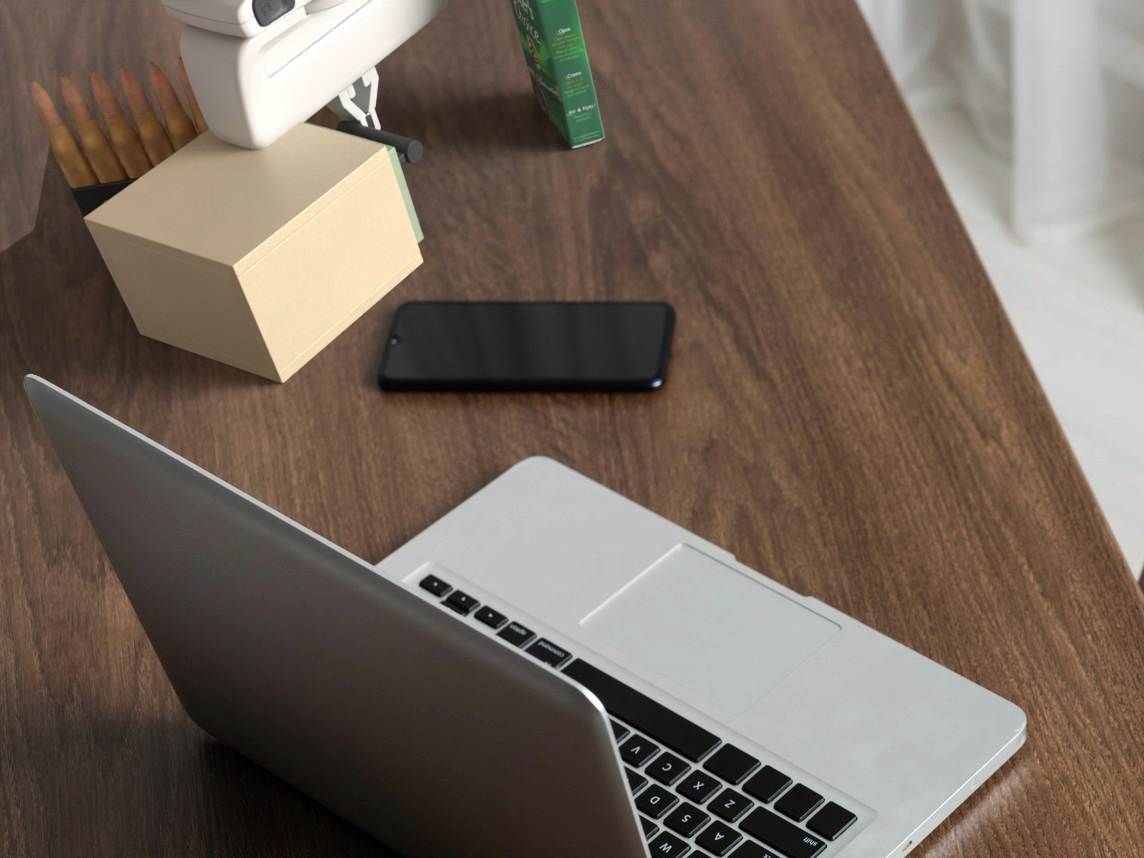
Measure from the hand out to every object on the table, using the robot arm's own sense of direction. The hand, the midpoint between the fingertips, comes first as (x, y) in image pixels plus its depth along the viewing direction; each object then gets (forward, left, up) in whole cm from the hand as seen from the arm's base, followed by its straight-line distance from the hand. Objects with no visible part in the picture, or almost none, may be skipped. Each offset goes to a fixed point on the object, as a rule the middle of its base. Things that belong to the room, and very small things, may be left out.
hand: (364, 135), depth 116 cm
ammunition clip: (-7, -11, -4) cm, 14 cm away
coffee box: (+7, +12, -4) cm, 15 cm away
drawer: (+3, -9, -3) cm, 10 cm away
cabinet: (+3, -13, -4) cm, 14 cm away
